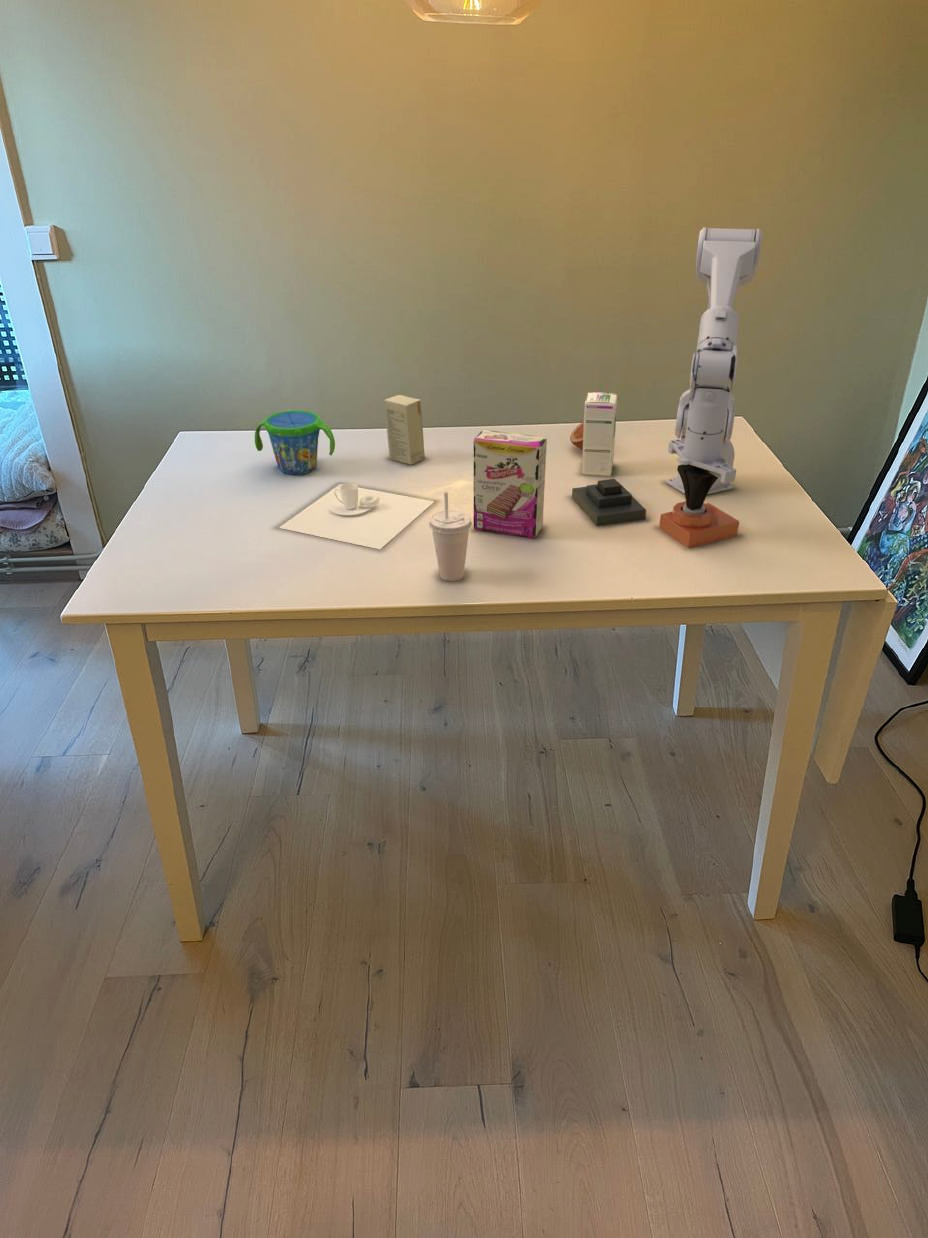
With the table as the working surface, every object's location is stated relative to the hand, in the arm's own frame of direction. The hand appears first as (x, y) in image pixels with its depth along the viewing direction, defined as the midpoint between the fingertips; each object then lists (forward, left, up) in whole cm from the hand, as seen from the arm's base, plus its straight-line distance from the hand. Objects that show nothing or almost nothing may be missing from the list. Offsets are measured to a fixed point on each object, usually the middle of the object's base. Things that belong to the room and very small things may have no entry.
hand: (694, 507), depth 143 cm
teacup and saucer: (+47, -32, -5) cm, 57 cm away
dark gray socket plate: (+7, -15, -5) cm, 17 cm away
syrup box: (-1, -30, -5) cm, 30 cm away
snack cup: (+51, -57, -5) cm, 77 cm away
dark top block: (+7, -15, -2) cm, 16 cm away
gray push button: (0, 0, -2) cm, 2 cm away
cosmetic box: (+30, -52, -5) cm, 60 cm away
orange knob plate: (-2, 0, -5) cm, 5 cm away
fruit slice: (-4, -40, -2) cm, 40 cm away
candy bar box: (+26, -15, -5) cm, 31 cm away
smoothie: (+41, -5, -5) cm, 42 cm away
